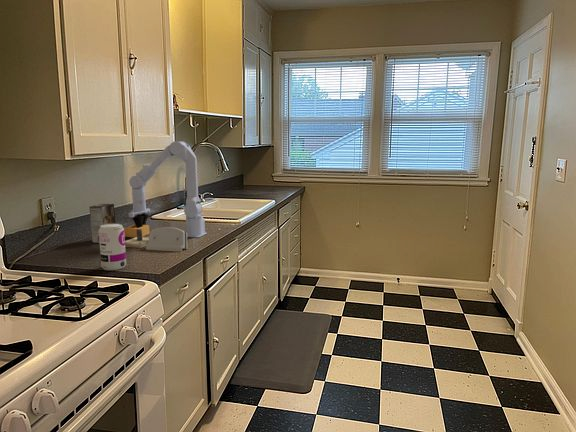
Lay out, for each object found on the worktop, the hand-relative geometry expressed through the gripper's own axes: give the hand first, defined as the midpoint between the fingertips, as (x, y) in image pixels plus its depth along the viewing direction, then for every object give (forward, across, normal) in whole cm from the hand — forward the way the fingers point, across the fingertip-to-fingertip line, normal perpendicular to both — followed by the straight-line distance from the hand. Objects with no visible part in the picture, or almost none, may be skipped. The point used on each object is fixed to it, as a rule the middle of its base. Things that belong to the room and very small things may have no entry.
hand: (141, 230), depth 207 cm
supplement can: (+3, +50, +21) cm, 55 cm away
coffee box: (+3, +13, -10) cm, 17 cm away
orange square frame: (+2, +3, 0) cm, 4 cm away
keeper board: (+3, +15, +9) cm, 18 cm away
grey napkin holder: (+3, +20, +25) cm, 33 cm away
